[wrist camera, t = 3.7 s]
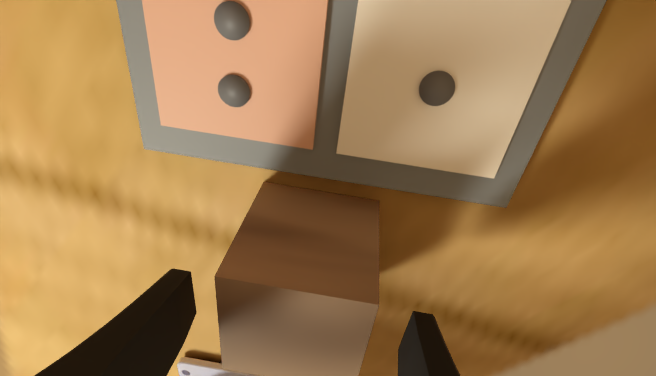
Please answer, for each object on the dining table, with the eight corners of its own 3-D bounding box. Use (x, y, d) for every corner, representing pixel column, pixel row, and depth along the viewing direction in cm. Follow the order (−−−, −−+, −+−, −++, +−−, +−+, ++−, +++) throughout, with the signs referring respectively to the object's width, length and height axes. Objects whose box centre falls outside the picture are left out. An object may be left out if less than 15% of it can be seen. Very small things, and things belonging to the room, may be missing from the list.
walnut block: (360, 280, 16) (353, 392, 12) (262, 263, 16) (222, 368, 12) (379, 200, 14) (379, 305, 10) (264, 181, 14) (214, 276, 10)
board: (501, 198, 13) (508, 213, 12) (152, 142, 13) (139, 152, 13) (617, -50, 9) (639, -52, 8) (108, -118, 9) (84, -125, 9)
